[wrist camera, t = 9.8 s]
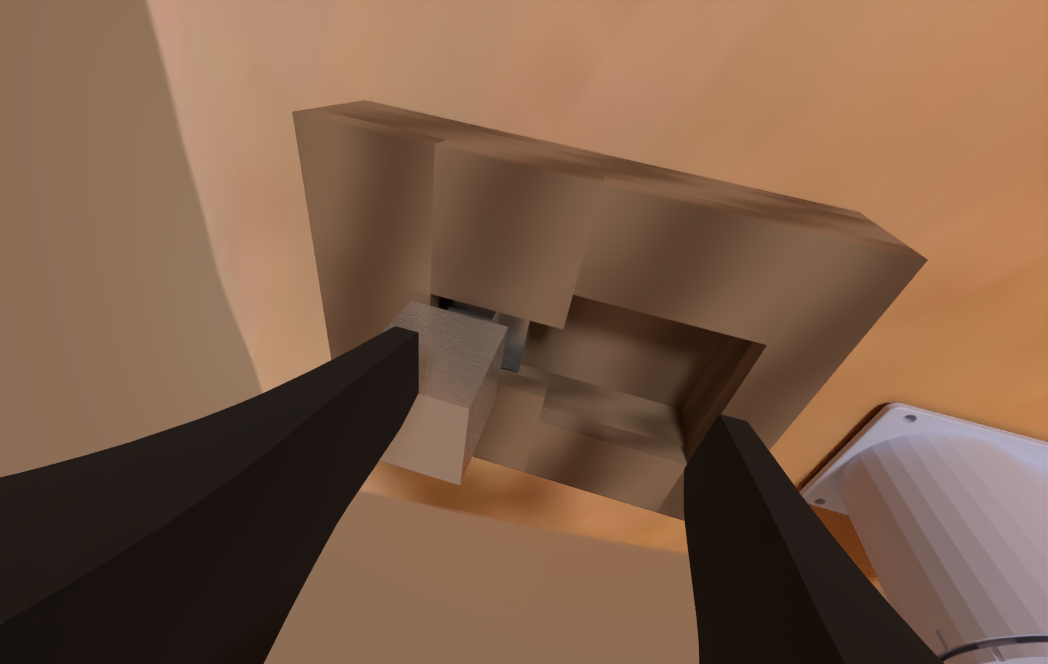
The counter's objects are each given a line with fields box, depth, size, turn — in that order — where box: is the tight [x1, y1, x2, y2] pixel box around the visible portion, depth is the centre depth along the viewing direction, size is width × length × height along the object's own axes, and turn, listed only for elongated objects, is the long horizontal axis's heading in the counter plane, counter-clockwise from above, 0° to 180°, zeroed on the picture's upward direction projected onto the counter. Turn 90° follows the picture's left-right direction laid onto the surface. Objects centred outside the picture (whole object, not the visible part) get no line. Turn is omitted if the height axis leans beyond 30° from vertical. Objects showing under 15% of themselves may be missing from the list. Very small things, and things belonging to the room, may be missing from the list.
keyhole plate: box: [292, 100, 927, 521], centre depth 19 cm, size 20×15×4 cm
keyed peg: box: [379, 296, 532, 485], centre depth 17 cm, size 5×5×8 cm
